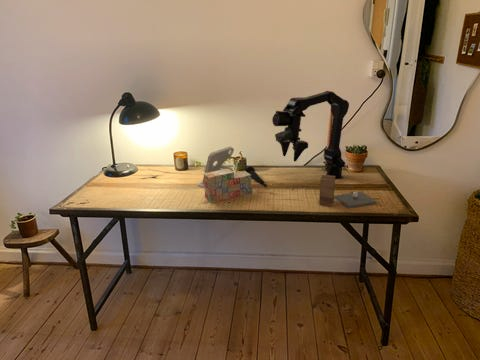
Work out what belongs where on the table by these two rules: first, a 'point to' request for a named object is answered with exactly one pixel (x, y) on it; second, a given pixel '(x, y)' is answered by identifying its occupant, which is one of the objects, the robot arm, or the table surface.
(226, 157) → the phone holder
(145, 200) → the table surface
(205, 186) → the stack of blocks
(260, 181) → the microphone
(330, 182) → the walnut block
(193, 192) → the table surface
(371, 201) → the charcoal base plate
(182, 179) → the table surface
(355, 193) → the steel pin
